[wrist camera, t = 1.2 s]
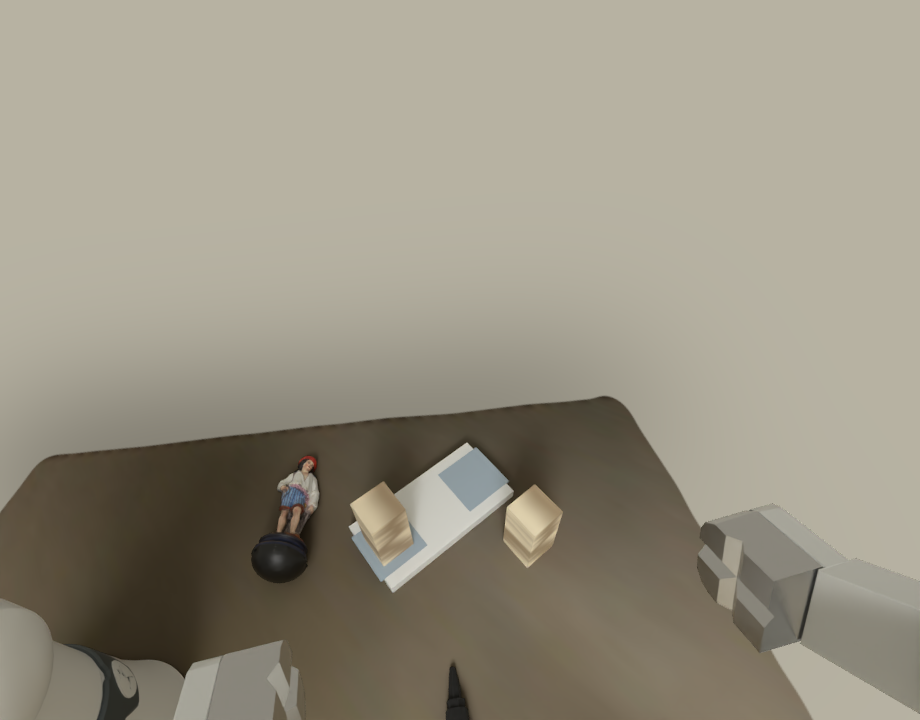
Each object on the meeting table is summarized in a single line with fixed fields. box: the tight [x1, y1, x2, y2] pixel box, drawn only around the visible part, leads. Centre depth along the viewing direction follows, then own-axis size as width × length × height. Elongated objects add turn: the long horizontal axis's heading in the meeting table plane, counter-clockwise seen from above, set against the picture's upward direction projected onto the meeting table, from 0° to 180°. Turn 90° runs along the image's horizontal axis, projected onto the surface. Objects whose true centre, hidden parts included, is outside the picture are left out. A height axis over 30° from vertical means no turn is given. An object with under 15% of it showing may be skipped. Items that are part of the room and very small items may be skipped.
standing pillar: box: [350, 481, 414, 566], centre depth 60 cm, size 4×4×10 cm
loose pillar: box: [503, 484, 563, 568], centre depth 61 cm, size 4×4×10 cm
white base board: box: [349, 443, 514, 593], centre depth 67 cm, size 21×10×2 cm, turn 129°
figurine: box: [251, 456, 319, 583], centre depth 66 cm, size 8×7×18 cm
